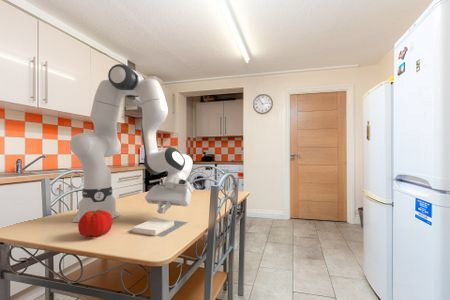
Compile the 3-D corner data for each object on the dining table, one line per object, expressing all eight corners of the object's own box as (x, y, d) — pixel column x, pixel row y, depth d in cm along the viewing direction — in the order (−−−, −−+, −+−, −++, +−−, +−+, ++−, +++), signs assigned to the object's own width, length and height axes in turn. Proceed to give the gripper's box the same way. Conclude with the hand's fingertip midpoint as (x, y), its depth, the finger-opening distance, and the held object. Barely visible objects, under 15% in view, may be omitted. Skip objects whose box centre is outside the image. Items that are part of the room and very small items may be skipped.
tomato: (77, 234, 84) (77, 210, 85) (109, 228, 91) (109, 206, 91) (79, 243, 76) (79, 217, 76) (115, 236, 82) (115, 212, 83)
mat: (156, 219, 103) (156, 218, 103) (188, 223, 97) (188, 222, 97) (126, 232, 86) (126, 231, 86) (162, 238, 80) (162, 236, 80)
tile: (153, 218, 96) (132, 227, 85) (174, 220, 93) (155, 230, 81) (153, 223, 96) (132, 232, 85) (174, 225, 92) (155, 235, 81)
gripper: (151, 179, 103) (135, 206, 94) (191, 181, 96) (179, 210, 87) (157, 188, 107) (143, 214, 98) (196, 190, 100) (185, 219, 91)
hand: (160, 212), depth 92 cm, fingers closed
